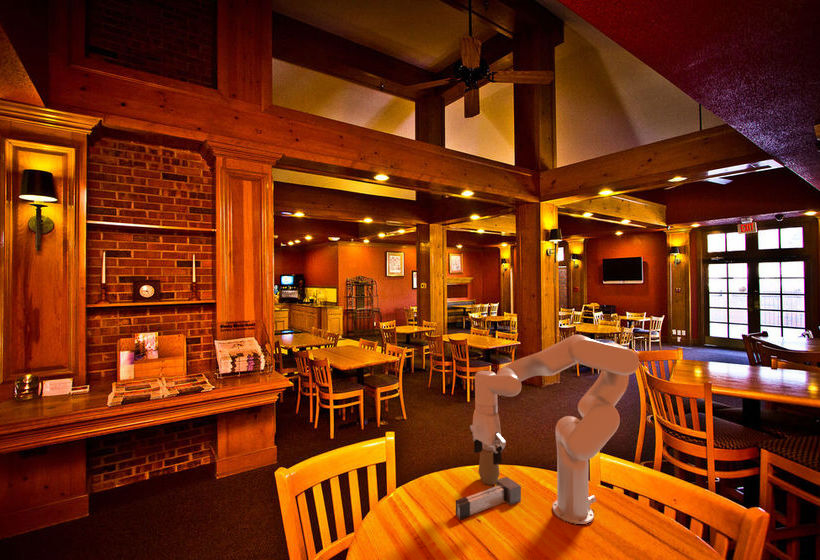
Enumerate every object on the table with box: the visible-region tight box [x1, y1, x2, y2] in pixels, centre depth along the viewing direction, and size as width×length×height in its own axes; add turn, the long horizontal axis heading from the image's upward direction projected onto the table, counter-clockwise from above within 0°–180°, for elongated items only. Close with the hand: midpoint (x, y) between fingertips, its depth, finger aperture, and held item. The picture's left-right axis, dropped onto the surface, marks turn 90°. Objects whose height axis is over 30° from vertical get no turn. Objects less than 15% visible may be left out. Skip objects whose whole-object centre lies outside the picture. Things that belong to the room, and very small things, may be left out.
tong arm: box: [457, 488, 505, 521], centre depth 125 cm, size 19×1×5 cm, turn 119°
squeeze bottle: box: [478, 443, 500, 486], centre depth 144 cm, size 8×8×18 cm
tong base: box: [455, 476, 522, 518], centre depth 128 cm, size 24×7×6 cm, turn 119°
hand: (487, 457), depth 128 cm, fingers open, 9 cm apart
